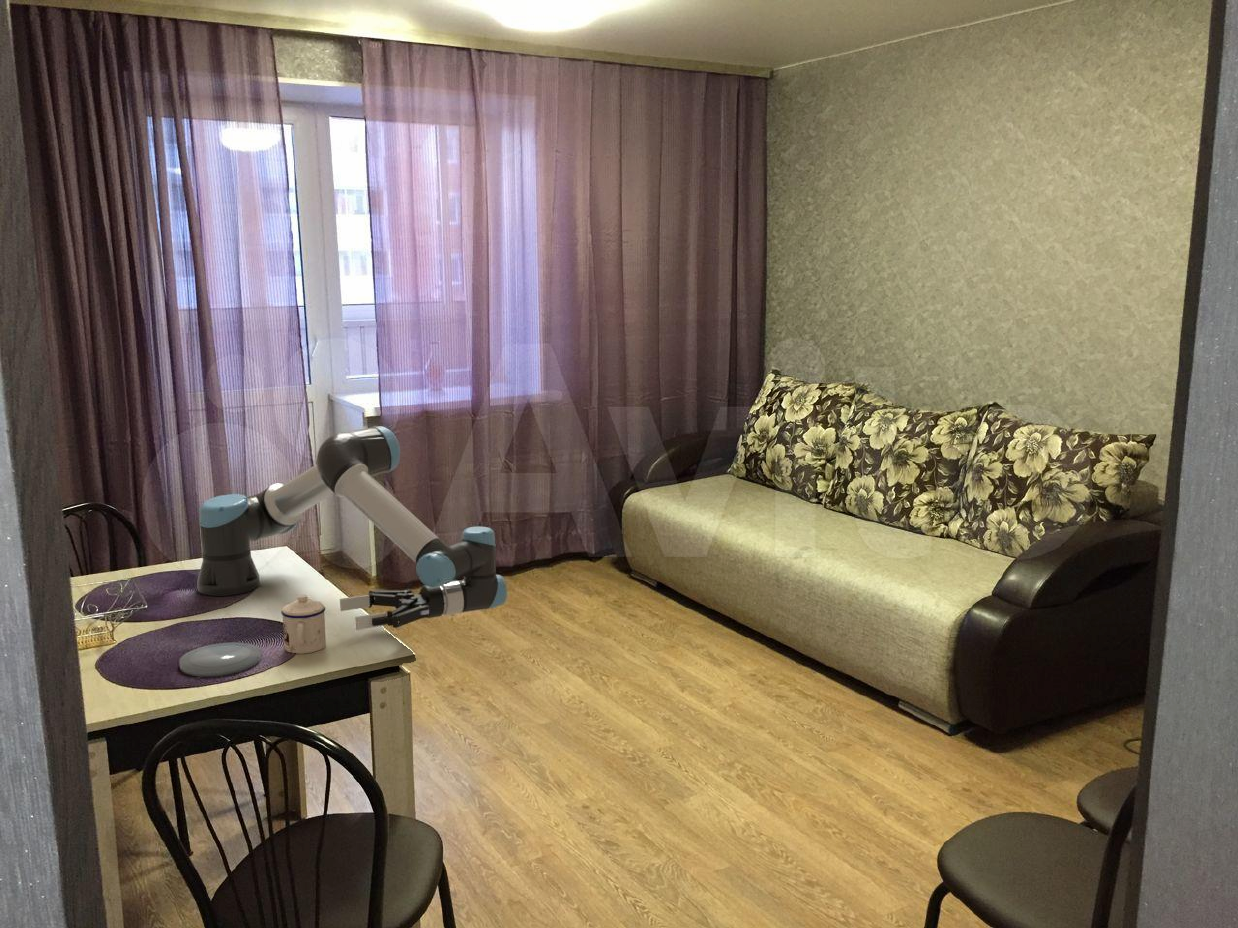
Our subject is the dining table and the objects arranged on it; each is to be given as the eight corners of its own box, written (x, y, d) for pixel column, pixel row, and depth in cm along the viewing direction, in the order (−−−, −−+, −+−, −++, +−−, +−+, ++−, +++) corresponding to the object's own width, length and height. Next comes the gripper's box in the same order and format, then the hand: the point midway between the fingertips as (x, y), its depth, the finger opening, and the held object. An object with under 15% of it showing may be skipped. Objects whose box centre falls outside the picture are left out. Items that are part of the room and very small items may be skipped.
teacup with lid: (286, 640, 228) (283, 590, 226) (329, 638, 230) (326, 588, 227) (278, 661, 216) (275, 608, 214) (323, 658, 218) (320, 606, 216)
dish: (175, 655, 219) (175, 649, 219) (254, 642, 227) (253, 637, 226) (184, 682, 205) (183, 676, 205) (267, 667, 213) (267, 661, 212)
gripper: (459, 631, 226) (363, 648, 216) (423, 599, 248) (335, 613, 238) (458, 599, 225) (362, 614, 215) (423, 569, 246) (333, 582, 236)
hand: (347, 613), depth 226 cm, fingers open, 13 cm apart
